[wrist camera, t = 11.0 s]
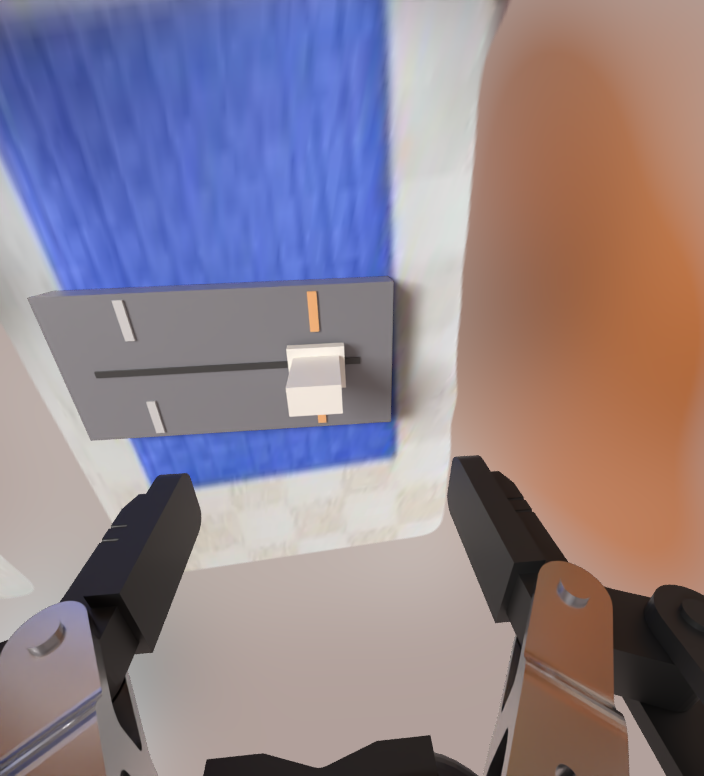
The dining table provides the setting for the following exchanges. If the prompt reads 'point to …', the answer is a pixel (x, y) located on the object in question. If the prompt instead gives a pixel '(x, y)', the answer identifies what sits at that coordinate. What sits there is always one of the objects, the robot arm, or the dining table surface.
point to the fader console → (215, 353)
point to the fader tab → (315, 379)
